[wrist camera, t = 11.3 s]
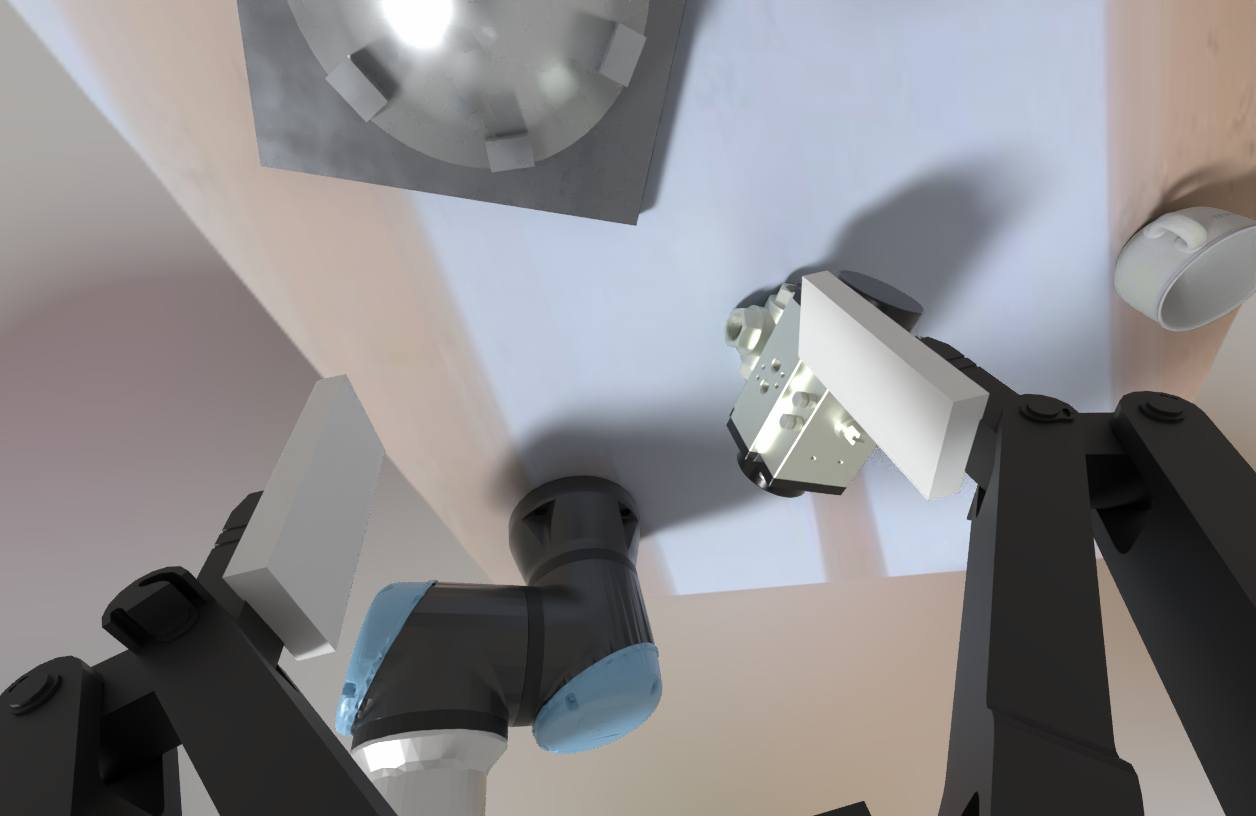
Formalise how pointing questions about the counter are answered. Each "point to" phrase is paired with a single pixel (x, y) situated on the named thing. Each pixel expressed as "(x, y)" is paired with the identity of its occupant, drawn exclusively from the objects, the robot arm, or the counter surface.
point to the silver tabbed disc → (478, 70)
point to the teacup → (1189, 267)
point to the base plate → (361, 151)
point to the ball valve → (798, 396)
